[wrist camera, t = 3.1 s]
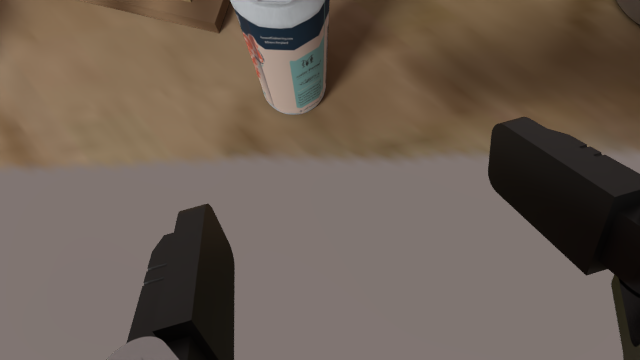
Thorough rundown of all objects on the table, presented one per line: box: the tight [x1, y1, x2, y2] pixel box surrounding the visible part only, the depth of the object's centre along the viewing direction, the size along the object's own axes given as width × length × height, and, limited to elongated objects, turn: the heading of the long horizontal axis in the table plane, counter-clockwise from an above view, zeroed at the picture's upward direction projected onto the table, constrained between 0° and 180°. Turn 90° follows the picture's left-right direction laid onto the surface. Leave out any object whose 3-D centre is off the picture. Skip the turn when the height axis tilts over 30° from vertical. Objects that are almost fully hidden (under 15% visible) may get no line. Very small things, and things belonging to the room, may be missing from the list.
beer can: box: [230, 0, 329, 115], centre depth 21 cm, size 5×5×12 cm
